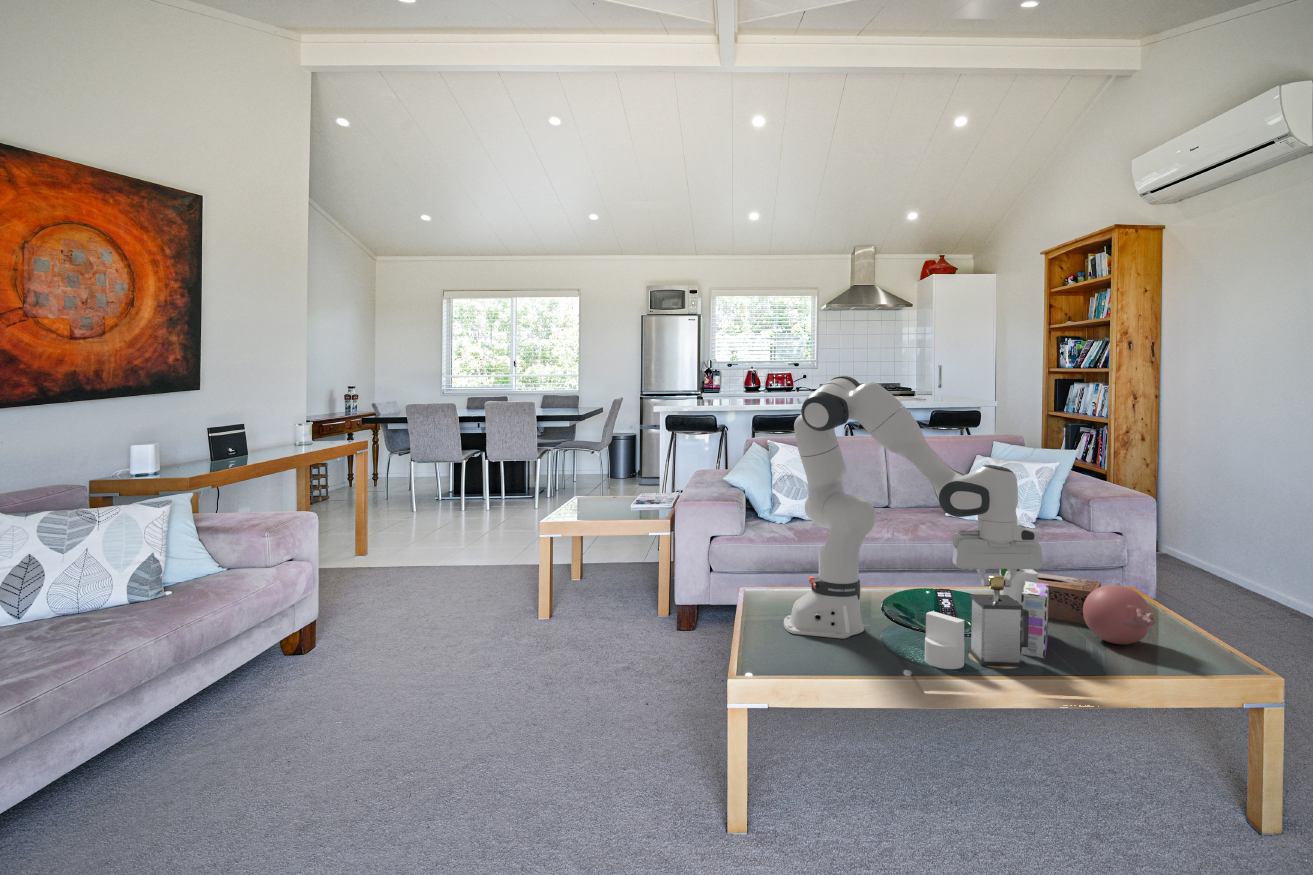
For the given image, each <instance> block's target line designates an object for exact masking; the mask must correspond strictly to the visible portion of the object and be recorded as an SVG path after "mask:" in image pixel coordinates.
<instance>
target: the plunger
mask: <svg viewBox="0 0 1313 875" xmlns="http://www.w3.org/2000/svg"><path fill="white" fill-rule="evenodd" d="M987 578H988V579H990V586H987V588H988V589H989V590H993V595H994V601H998V590H1004V580H1005V577H1004V576H1001V575H1000V574H989V575H988V577H987Z"/></svg>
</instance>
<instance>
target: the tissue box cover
mask: <svg viewBox="0 0 1313 875" xmlns="http://www.w3.org/2000/svg"><path fill="white" fill-rule="evenodd" d="M1037 573H1038V583H1044V584H1049V587H1048V619H1054V620H1059V621H1066V622H1072V623H1078V624H1081V625H1082V624H1083V625H1087V624H1086V622H1085V620H1084V616H1083V605H1084V602H1085V600H1086V598H1087V596H1088V595H1089V594H1090V593H1091V592H1092V591H1094V590H1095V589H1097V588H1099V587H1102V580H1095V579H1087V578H1080V577H1072V576H1066V575H1065V576H1064V575H1058V574H1057V575H1056V574H1049V573H1041V572H1037ZM998 595H1000V590H998Z"/></svg>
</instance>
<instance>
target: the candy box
mask: <svg viewBox="0 0 1313 875" xmlns="http://www.w3.org/2000/svg"><path fill="white" fill-rule="evenodd" d="M1048 587H1049V584H1044V583H1036V582H1027V581H1025V585H1024V588H1023V591H1022V595H1021V605H1022V606H1023V609H1025V610H1027V611H1029V629H1028V647H1020V655H1022V656H1023V655H1024V656H1028V657H1029V656H1030V657H1035V658H1041V659H1046V654H1047V646H1048V629H1049V628H1048V627H1049V618H1048ZM1021 628H1022V615H1021ZM1021 628H1020V641H1021Z"/></svg>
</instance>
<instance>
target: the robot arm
mask: <svg viewBox="0 0 1313 875" xmlns="http://www.w3.org/2000/svg"><path fill="white" fill-rule="evenodd" d="M800 412H801V414H800V415H799V416H797V417H796V419H795V420H794V424H793V429H794V436H795V437H794V438H795V441H796V442H795V443H796V445H797V446H796V447H797V450H798V453H799V457H800V459H801V464H802V466H803V470H804V473H805V476H806V481H807V488H808V489H807V490H808V496H807V498H806V499H805V502H804V513H805V515H806V516H807V518H808V519H809V520H810V521H812V522H813V523H814V524H815V525H817V526H819V527H822V528H825V529H828V535H827V539H826V542H825V544H824V546H822V547H821V548H820V549H819V551H818V577H815V576H814V575H811V576H809V577H808V582H809V583H810V584H811V586H810V587H811V590H809V591H808V592H807V593H806V594H804V595H802V596H801V597H799V598H798V599H797V600H796V601H795V602H794V603H793V606H792V609H791V614H789V615H787V616H785V617H784V619H783V627H784V629H785V630H786V632H788V633H791V634H793V635H803V636H813V637H822V638H823V637H824V638H833V639H834V638H835V639H847V638H849V637H851V636H854V635H855V636H856V635H858V634H860V633H862V632H864V631H865V627H864V624H863V619H862V614H861V608H860V607H861V606H860V598H861V580H860V578H859V566H860V565H859V564H860V563H859V562H860V552H861V548H862V545H863V542H864V540H865V537H866V536H867V535H868V534H869V533H870V532H871V531H872V530H873V529H874V527H875V525H876V522H877V513H876V510H875V508H874V506H873V505H872V504H871V503H870V502H868V501H867V500H865V499H863V498H861V497H860V496H856V495H852V494H848V493H845V491H844V489H843V477H844V476H845V473H846V471H847V470H846V468H847V467H846V464H845V460H844V458H843V455H842V454H843V453H842V451H841V447H840V444H839V441H838V437H837V435H836V431H835V428H837V427H839V426H842V425H846V424H847V422H848V421H849V420H852V421H856V422H857V423H859V424H860V425H861V426H862V428H864V429H865V430H866V432H867V433H868V434H869V435H870V436H871V437H872V439H874V440H875V441H876V442H877V443H878V444H880V445H881V446H882V447H883V448H884V449H885V450H887V451H889V452H891V453H893V454H895V455H899V456H901V457H903V458H905V459H906V460H908V461H909V462H910V463H911V464H913V465H914V466H915V468H916V469H917V470H918V471H919V472H920V473H921V474H922V475H923V476H924V477H925V478H926V479H927V480H928V481H929V483H930V484H931V486H932V487H933V489H934V492H935V497H936V499H937V501H938V503H939V506H940V507H941V509H942V510H943V511H944V512H945V513H946V514H948V515H949V516H952V517H955V518H966V517H973V516H977V530H959V531H958V532H956V533H955V534H954V535H953V538H952V545H953V551H952V564H953V565H954V566H956V567H957V568H958V569H969V570H970V569H971V570H972V569H973V570H974V569H975V570H976V572H977V573H978V575H979V577H980V579H981V582H980V583H981V586H982V587H988V586H990V579H988V577H986V575H985V574H986V572H987V570H1000V569H1007V571H1008V572H1009V574H1008V575H1007V577H1006V578H1005V580H1004V587H1011V580H1012V579H1013V578H1014V576H1015V575H1016V573H1017V569H1033V570H1040V569H1041V568H1042V566H1043V551H1042V546H1041V544H1040V542H1038V541H1039V539H1040V534H1039V533H1038V532H1037V531H1035V530H1034V529H1031V528H1029V527H1026V526H1024V525H1021V524H1018V515H1017V507H1018V504H1019V490H1018V486H1019V485H1018V479H1017V476H1016V474H1015V473H1014V471H1012V470H1011V469H1009V468H1007V467H1004V466H1000V465H995V464H984V465H982V466H981V467H979V468H977V469H975V470H973V471H971V472H969V473H966V474H964V473H962V472H959V471H957V470H955V469H953V468H952V467H951V466H950V465H948V464H947V463H946V462H945V461H944V460H943V459H942V457H941V456H940V455H939V454H938V453H937V452H936V451H935V450H934V449H933V448H932V447H931V445H930V444H929V443H928V442H927V440H926V438H925V436H924V434H923V431H922V428H921V427H920V425H919V424H918V422H917V421H916V419H915V417H914V416H913V415H912V413H911V411H909V409H908V408H907V407H906V406H905V405H904V404H903V403H902V402H901V401H900V400H899V399H898V398H897V397H895V396H894V395H893V394H892V393H891V392H890V391H888V390H887V389H886V388H884V387H883V386H882V385H880V384H879V383H877V382H875V381H868V382H864V383H862V384H860V383H859V381H858V380H856V379H855V378H853V377H851V376H846V375H841V376H835V377H833V378H832V379H830V380H829V381H826V382H824V383H823V384H821V385H820V386H819V387H817V389H816V390H814V391H813V392H812V393H810V394H809V395H808V396H807V397H806V399H805V400H804V401H803V403H802V405H801V410H800Z"/></svg>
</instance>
